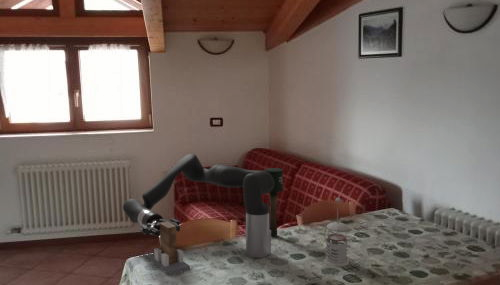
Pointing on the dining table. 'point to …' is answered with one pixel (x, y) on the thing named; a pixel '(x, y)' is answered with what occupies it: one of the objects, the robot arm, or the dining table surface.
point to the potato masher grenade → (274, 196)
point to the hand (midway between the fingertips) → (168, 231)
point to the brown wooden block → (168, 241)
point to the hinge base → (163, 262)
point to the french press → (336, 244)
